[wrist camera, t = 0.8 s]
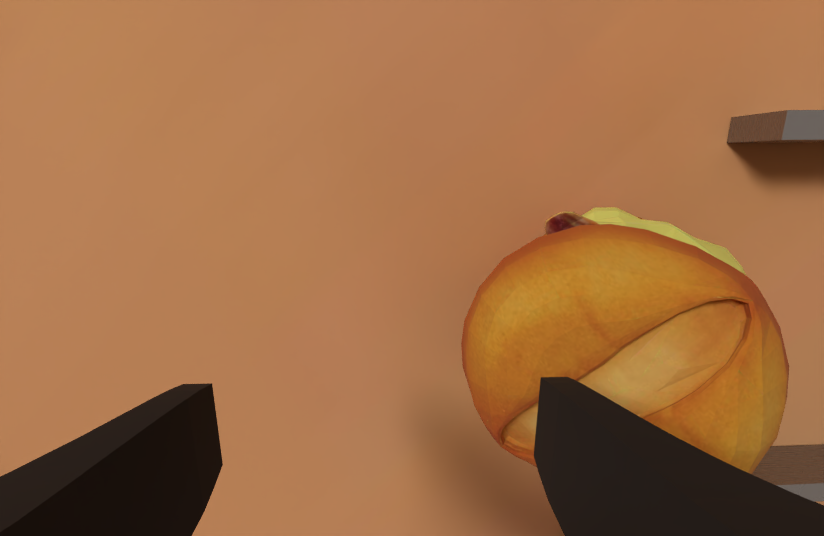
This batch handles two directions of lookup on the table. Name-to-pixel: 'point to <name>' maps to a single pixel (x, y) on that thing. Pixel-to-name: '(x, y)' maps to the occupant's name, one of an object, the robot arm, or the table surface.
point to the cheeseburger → (629, 335)
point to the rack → (808, 464)
